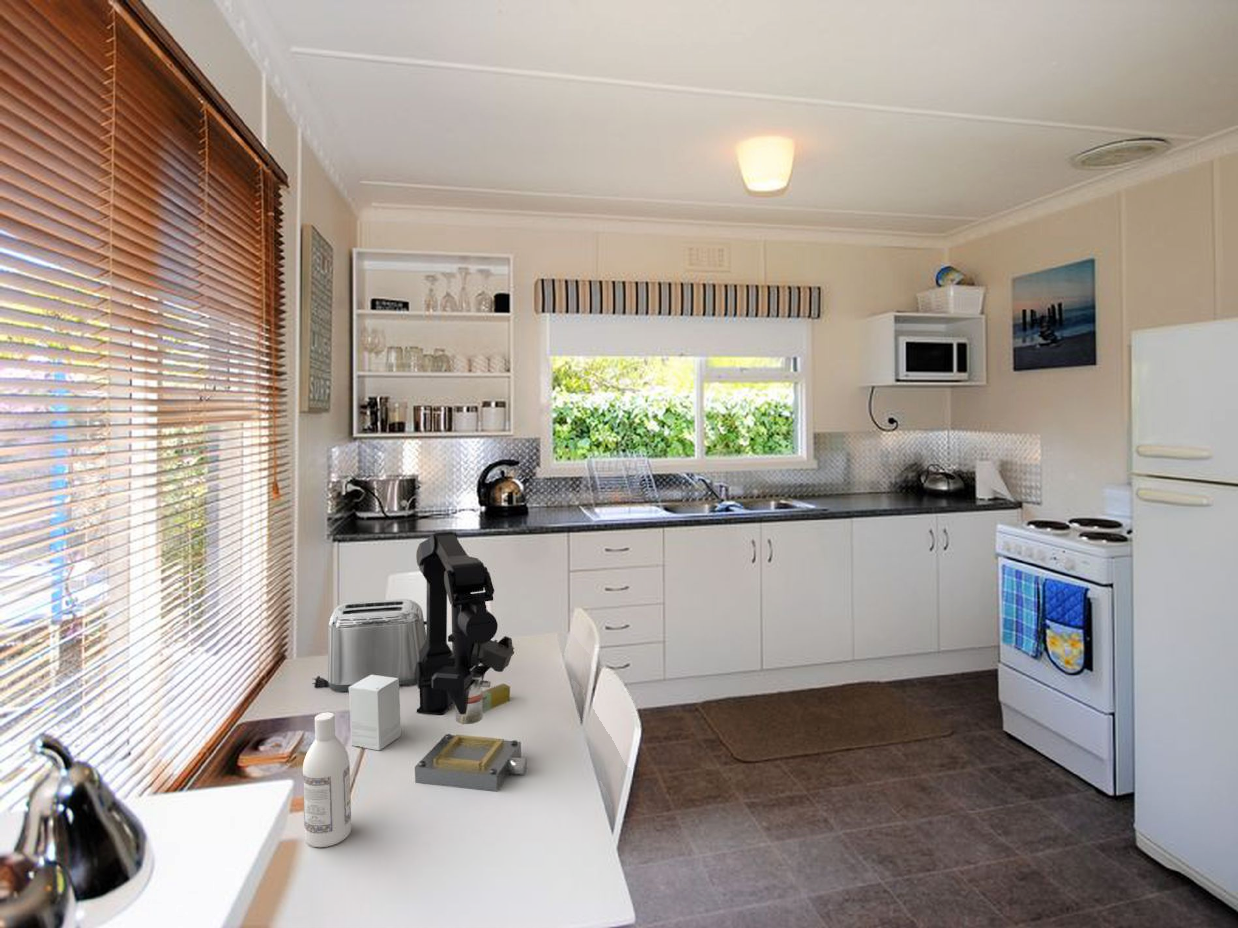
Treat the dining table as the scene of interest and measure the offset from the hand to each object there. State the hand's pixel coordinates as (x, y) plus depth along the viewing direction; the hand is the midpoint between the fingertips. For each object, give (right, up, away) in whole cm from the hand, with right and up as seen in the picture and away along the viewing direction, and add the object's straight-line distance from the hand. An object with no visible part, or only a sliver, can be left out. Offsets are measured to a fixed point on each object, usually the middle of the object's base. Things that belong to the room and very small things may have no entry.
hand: (468, 708), depth 131 cm
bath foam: (-18, -14, -20) cm, 30 cm away
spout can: (0, -2, 0) cm, 2 cm away
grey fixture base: (+1, -12, +1) cm, 12 cm away
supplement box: (-22, -11, +12) cm, 28 cm away
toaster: (-34, -9, +46) cm, 58 cm away
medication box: (-2, -10, +29) cm, 31 cm away
